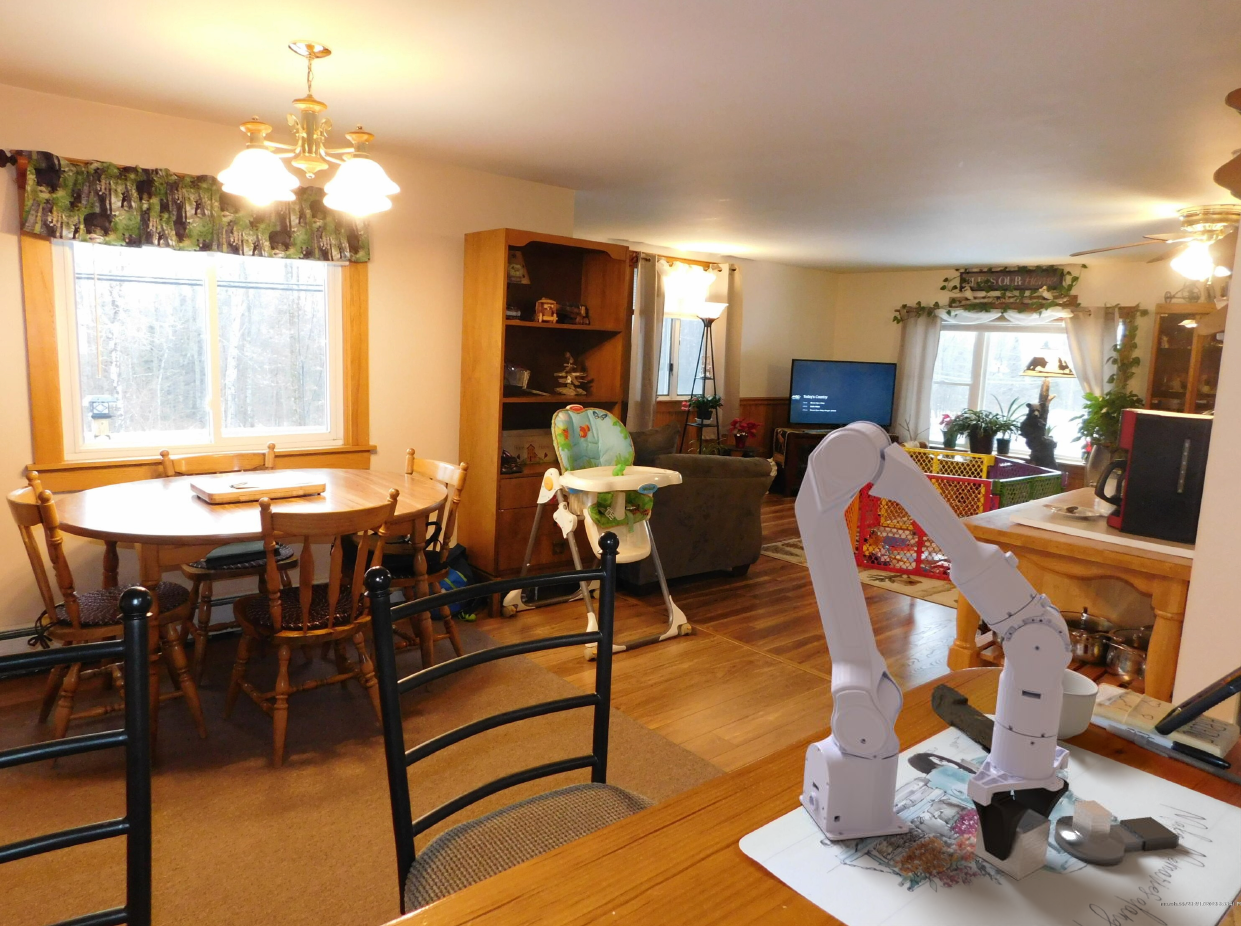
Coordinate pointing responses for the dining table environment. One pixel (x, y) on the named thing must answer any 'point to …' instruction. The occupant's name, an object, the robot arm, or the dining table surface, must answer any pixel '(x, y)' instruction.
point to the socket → (1021, 846)
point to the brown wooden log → (962, 714)
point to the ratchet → (1108, 835)
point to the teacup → (1076, 704)
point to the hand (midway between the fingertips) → (1011, 846)
